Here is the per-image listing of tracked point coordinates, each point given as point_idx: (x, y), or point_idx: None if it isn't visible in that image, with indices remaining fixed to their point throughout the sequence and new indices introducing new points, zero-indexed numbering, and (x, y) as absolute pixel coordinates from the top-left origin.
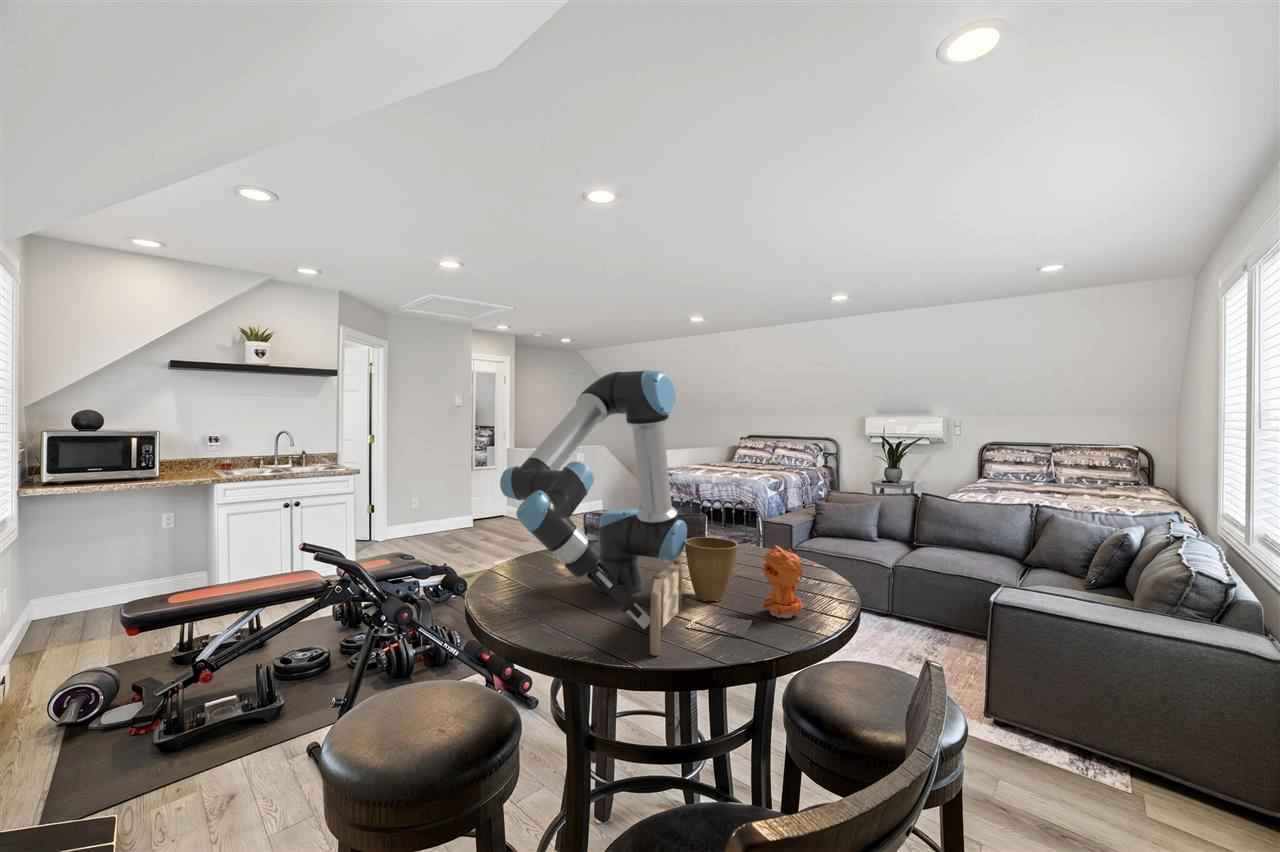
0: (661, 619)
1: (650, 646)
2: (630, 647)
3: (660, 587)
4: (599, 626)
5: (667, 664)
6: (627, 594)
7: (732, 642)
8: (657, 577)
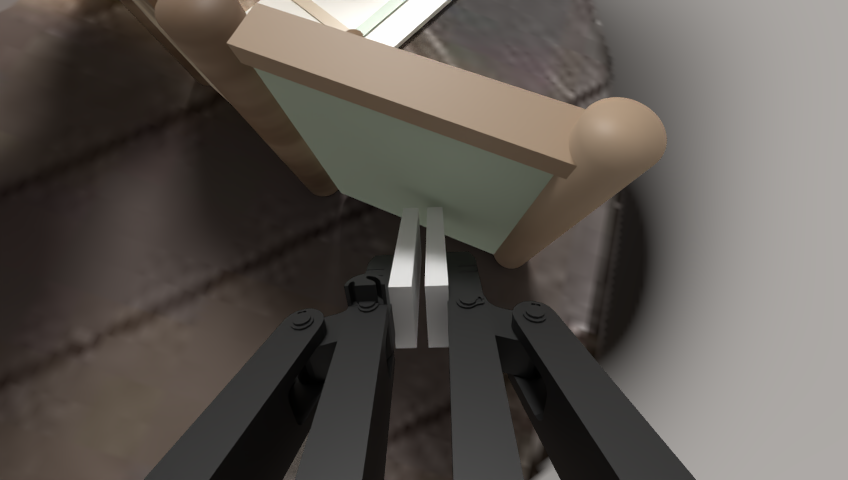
0: None
1: (520, 263)
2: (425, 311)
3: (431, 62)
4: (204, 368)
5: (578, 237)
6: (347, 299)
7: (476, 21)
8: (213, 16)
